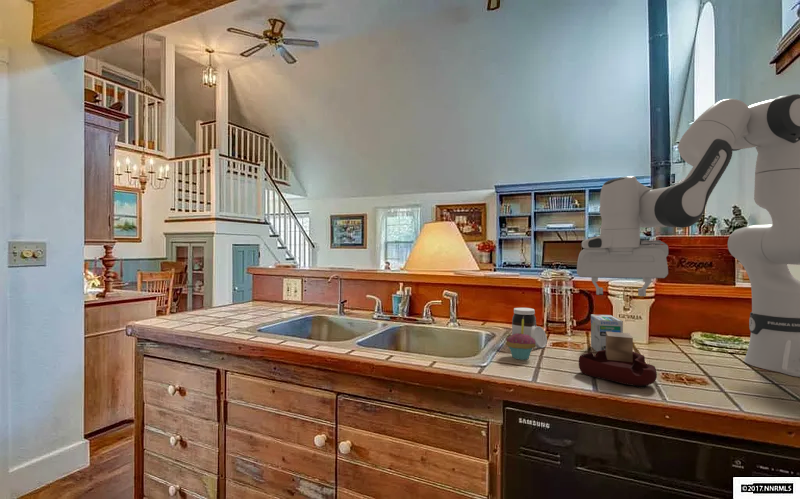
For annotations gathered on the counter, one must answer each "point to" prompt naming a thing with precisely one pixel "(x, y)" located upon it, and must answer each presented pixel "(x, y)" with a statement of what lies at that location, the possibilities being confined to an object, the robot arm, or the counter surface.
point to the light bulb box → (603, 329)
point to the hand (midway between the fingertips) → (620, 295)
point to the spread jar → (528, 325)
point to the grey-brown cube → (619, 346)
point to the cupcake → (520, 344)
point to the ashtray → (618, 369)
